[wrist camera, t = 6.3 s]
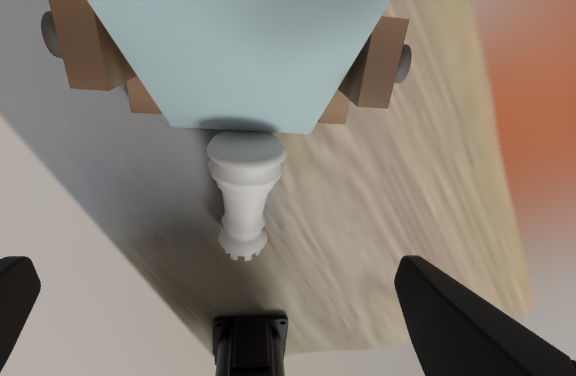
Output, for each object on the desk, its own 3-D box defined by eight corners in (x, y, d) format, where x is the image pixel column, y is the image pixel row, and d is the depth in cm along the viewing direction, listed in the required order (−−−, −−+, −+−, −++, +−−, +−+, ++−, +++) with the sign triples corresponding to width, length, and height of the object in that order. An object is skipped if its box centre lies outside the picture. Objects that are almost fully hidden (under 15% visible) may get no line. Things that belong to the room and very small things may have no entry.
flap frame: (344, 119, 19) (386, 168, 13) (133, 107, 17) (70, 156, 11) (372, -39, 15) (451, -75, 9) (105, -73, 14) (-14, -144, 8)
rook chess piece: (192, 132, 17) (199, 238, 21) (227, 169, 14) (226, 283, 19) (261, 122, 19) (255, 219, 24) (303, 153, 16) (287, 257, 21)
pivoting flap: (309, 102, 19) (309, 134, 18) (173, 94, 18) (171, 126, 17) (480, -266, 5) (494, -171, 5) (-73, -400, 4) (-106, -289, 4)
